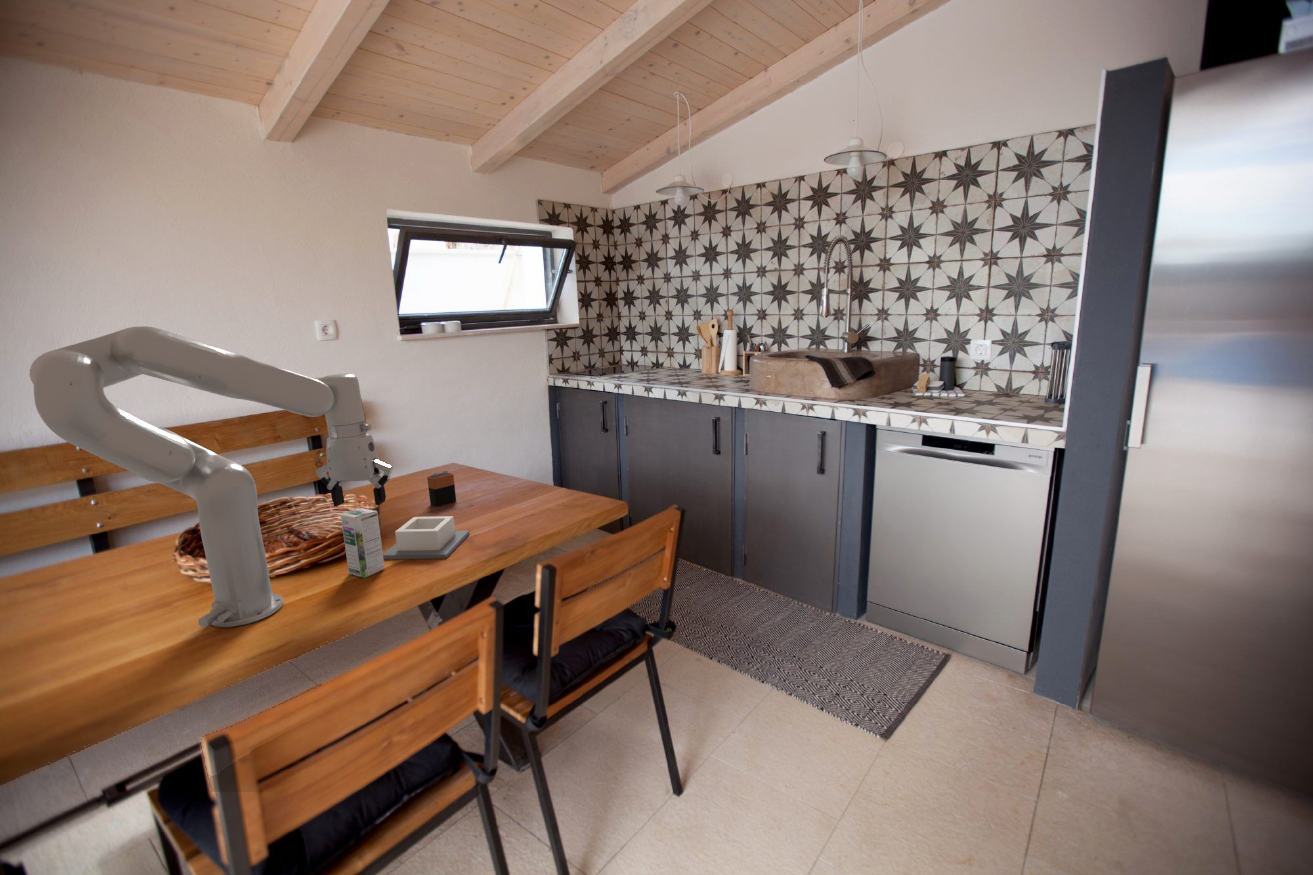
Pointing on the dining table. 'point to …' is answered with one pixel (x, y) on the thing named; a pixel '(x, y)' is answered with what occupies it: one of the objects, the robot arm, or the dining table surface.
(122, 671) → the dining table surface
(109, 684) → the dining table surface
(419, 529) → the socket
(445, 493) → the battery
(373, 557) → the syrup box
